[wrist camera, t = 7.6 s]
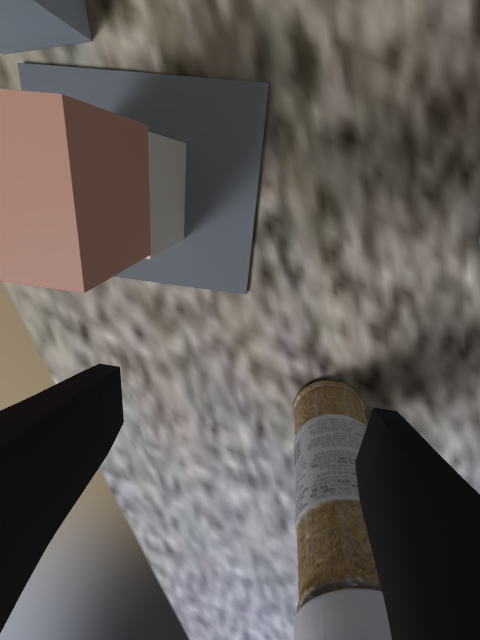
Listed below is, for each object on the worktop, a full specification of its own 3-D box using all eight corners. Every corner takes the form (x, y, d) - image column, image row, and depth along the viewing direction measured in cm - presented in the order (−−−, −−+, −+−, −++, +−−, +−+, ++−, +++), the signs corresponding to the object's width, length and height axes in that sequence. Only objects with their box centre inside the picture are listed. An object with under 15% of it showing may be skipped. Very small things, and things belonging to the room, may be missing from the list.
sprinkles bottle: (348, 440, 22) (422, 765, 10) (283, 422, 22) (276, 721, 10) (374, 387, 20) (506, 708, 8) (303, 368, 20) (325, 654, 8)
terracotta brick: (147, 125, 11) (61, 93, 7) (150, 254, 13) (84, 292, 9) (26, 114, 12) (-127, 79, 8) (45, 241, 14) (-67, 272, 9)
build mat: (269, 84, 15) (268, 82, 14) (246, 292, 19) (246, 294, 19) (22, 64, 16) (17, 62, 15) (52, 266, 20) (48, 267, 20)
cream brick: (186, 143, 16) (147, 131, 12) (184, 238, 18) (150, 259, 13) (96, 134, 16) (26, 119, 12) (103, 228, 18) (45, 245, 14)
